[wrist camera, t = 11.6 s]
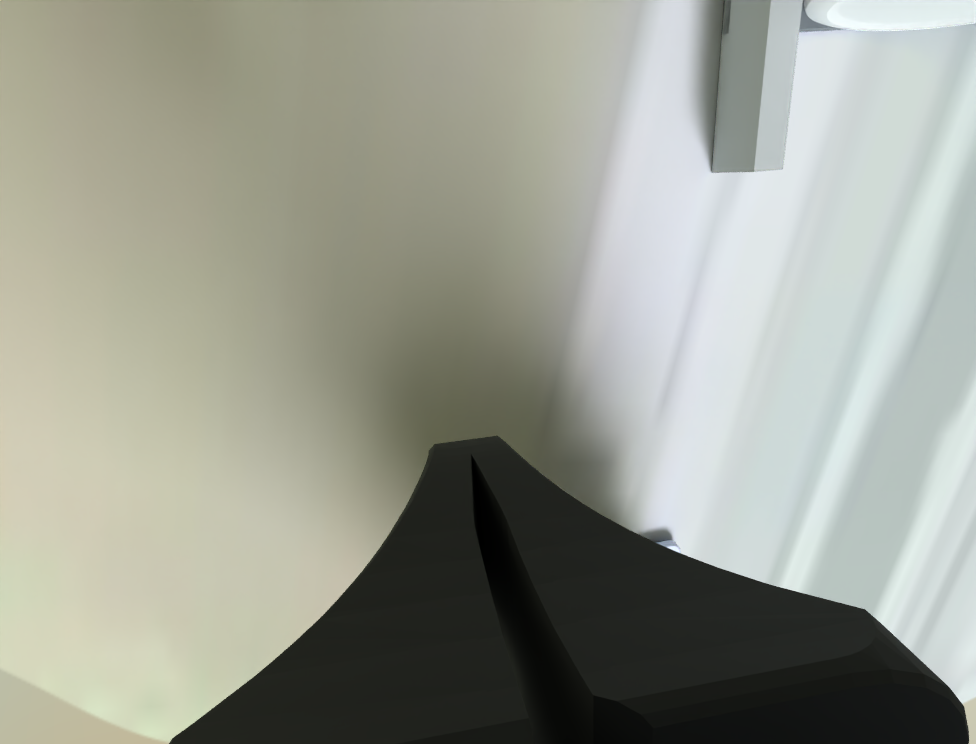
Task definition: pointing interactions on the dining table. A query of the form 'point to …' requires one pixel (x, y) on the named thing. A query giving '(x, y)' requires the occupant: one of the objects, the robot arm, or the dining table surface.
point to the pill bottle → (891, 14)
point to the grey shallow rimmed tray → (757, 82)
